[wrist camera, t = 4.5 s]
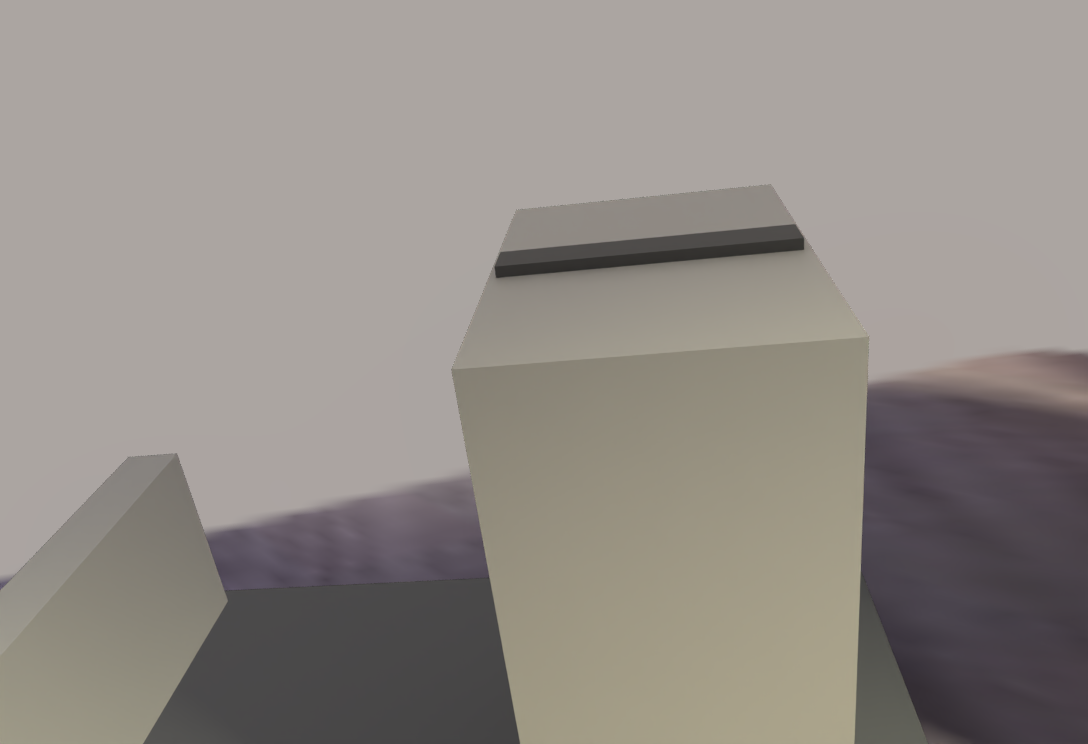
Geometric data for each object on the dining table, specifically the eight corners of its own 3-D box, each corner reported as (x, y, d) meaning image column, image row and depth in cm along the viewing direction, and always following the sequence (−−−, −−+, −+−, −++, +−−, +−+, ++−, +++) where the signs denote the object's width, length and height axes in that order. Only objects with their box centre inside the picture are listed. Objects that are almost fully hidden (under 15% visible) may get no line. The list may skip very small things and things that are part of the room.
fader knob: (777, 673, 18) (771, 174, 14) (845, 986, 12) (869, 321, 8) (581, 679, 18) (514, 200, 14) (564, 983, 13) (448, 355, 9)
